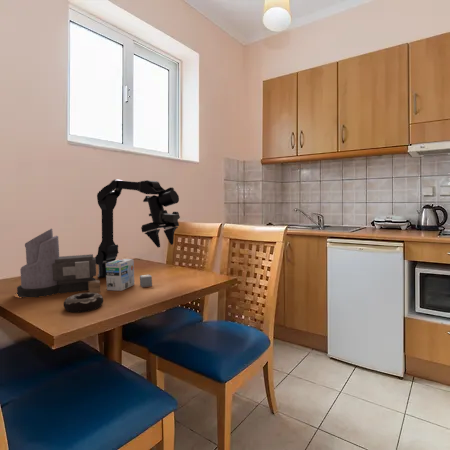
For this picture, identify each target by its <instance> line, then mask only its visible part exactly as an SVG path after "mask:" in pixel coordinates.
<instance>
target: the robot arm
mask: <svg viewBox="0 0 450 450" xmlns="http://www.w3.org/2000/svg"><path fill="white" fill-rule="evenodd" d="M122 190H130V191H138V192H140V193H142V194H145V197H144V198H143V200H142V202H143V203H147V204H148V209H149V212H150V213H148V217H151V220H152V222H149V223H145V224H142V225H141V227H140V230H141V232H142V233H144V235H146V236H147V237H148V238H149V239H150V240H151V241H152V242H153V244H154V245H155V246H156V247H157V249H158V248H161V241H160V236H159V233H160V230H161V229H164V230H163V233H164V234H165V237H166V239H167V240H168V242H169V244H170V245H171V246H172V245H174V241H175V232H176V230H177V229H178V227H179V226H180V223H179V219H181V216H180V214H179V211H172V213H168V211H167V210H166V209H165V208H166V207H170V206H173V205H175V204H178V203H179V201H180V196H179V194H178V193H177V191H176V190H175V189H174V187H171V186H170V187H168V188H166V189H164V187H162V186H161V184H160V182H159V181H158V180H157V181H156V180H140V181H129V180H122V179H113V180H111V181H110V183H108V184H107V185H105V186H104V187H102V188H101V189H100V190H99V191H98V192H97V194H96V198H97V205H98V207H99V208H100V209H101V242H100V244H99V245H98V249H97V254H96V255H95V256H94V257H95V258H96V266H98V274H97V277H98V279H102V278H106V263H108V262H111V261H114V260H117V257H118V254H119V245H118V244H116V243H115V241H114V210H115V207H116V205H117V202H118V198H119V197H120V196H121V194H122ZM149 195H150V196H149ZM164 207H165V208H164Z"/></svg>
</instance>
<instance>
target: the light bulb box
mask: <svg viewBox="0 0 450 450" xmlns="http://www.w3.org/2000/svg"><path fill="white" fill-rule="evenodd" d="M105 279H106V280H105V281H106V291H115V292H116V291H118V292H119V291H121V292H122V291H124V290H126V289H128V288H130V287H132V286H135V261H134V258H118V259H117V258H116V260H114V261H111V262H108V263H106V277H105Z"/></svg>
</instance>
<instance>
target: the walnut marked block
mask: <svg viewBox="0 0 450 450" xmlns="http://www.w3.org/2000/svg"><path fill="white" fill-rule="evenodd" d="M88 288H89V290H88V292H93V293H98V294H100V293H101V281H100V279H96V280H95V281H88Z"/></svg>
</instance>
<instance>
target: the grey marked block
mask: <svg viewBox="0 0 450 450" xmlns="http://www.w3.org/2000/svg"><path fill="white" fill-rule="evenodd" d="M139 284H140V286H141V287H142V288H147V287H153V276H152V275H151V274H144V275H143V274H142V275H139Z"/></svg>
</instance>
